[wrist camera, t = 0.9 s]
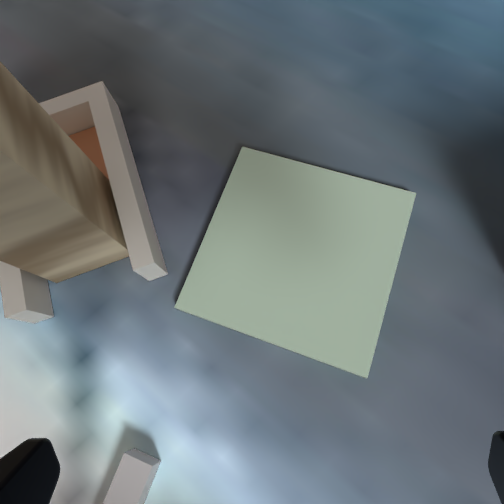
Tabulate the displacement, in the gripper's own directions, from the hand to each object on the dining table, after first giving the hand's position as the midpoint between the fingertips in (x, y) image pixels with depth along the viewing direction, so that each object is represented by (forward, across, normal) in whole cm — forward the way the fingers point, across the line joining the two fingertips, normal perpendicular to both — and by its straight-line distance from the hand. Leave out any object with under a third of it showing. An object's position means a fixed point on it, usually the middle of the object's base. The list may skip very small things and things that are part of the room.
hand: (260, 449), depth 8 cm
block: (+16, +12, 0) cm, 20 cm away
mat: (+15, -1, +2) cm, 15 cm away
